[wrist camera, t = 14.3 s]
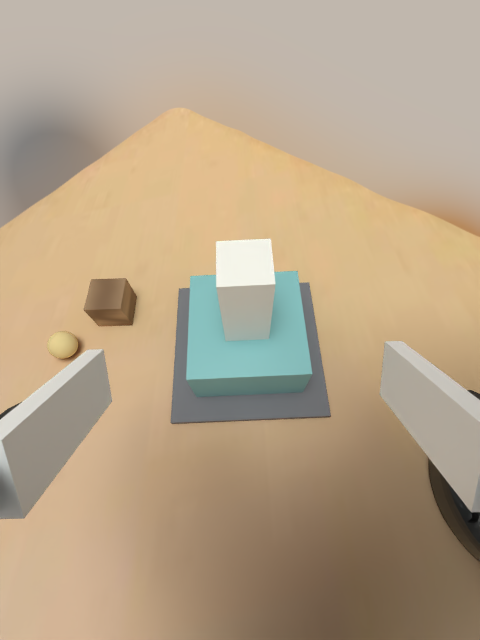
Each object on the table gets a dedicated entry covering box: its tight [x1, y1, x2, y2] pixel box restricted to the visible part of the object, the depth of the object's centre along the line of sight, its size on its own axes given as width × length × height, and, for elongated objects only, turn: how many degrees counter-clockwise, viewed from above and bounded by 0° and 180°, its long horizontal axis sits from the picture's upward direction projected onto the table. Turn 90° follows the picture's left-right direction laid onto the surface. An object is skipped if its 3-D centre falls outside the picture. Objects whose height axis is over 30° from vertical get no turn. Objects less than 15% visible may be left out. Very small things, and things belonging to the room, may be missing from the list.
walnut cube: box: [84, 278, 137, 326], centre depth 38 cm, size 4×4×4 cm
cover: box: [186, 239, 312, 397], centre depth 29 cm, size 11×11×15 cm
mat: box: [171, 282, 331, 424], centre depth 36 cm, size 16×16×1 cm
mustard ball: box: [47, 331, 78, 359], centre depth 36 cm, size 3×3×3 cm
